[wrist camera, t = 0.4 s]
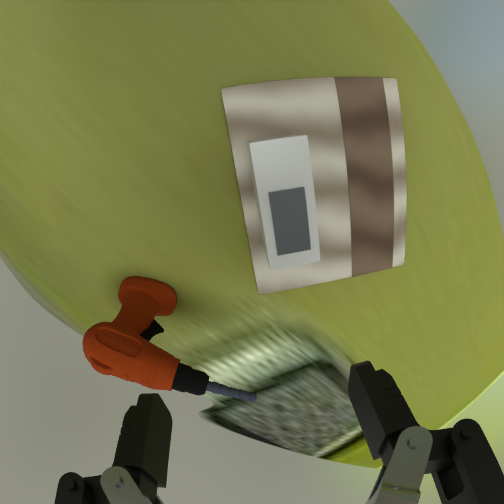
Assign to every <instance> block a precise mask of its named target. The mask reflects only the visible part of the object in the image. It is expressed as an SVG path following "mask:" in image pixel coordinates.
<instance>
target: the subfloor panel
mask: <svg viewBox="0 0 504 504" xmlns="http://www.w3.org/2000/svg"><path fill="white" fill-rule="evenodd" d="M221 92H222V97H223V103H224V108H225V114H226V119H227V125H228V130H229V136H230V141H231V147H232V152H233V158H234V163H235V168H236V174H237V179H238V185H239V190H240V196H241V201H242V207H243V212H244V217H245V223H246V228H247V234H248V239H249V245H250V250H251V255H252V261H253V266H254V272H255V277H256V283H257V288H258V293H259V295H263V294H268V293H274V292H279V291H284V290H289V289H294V288H299V287H304V286H309V285H314V284H319V283H324V282H329V281H333V280H338V279H342V278H347V277H354V276H359V275H363V274H368V273H372V272H376V271H381V270H385V269H389V268H392V267H395V266H399V265H403V264H404V255H405V238H406V165H405V148H404V136H403V126H402V116H401V108H400V101H399V94H398V88H397V82H396V79H393V78H379V77H320V78H302V79H289V80H278V81H269V82H261V83H253V84H246V85H239V86H233V87H227V88H222V89H221ZM293 134H296V135H307V137H308V144H309V151H310V159H311V167H312V175H313V184H314V193H315V202H316V212H317V223H318V235H319V247H320V261H318V262H313V263H308V264H303V265H298V266H293V267H287V268H282V269H277V270H271V271H270V268H269V265H268V261H267V258H266V254H265V251H264V247H263V241H262V235H261V228H260V222H259V216H258V211H257V205H256V199H255V193H254V187H253V181H252V175H251V169H250V164H249V158H248V152H247V146H246V141H251V140H257V139H263V138H270V137H277V136H285V135H293Z"/></svg>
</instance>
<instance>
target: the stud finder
mask: <svg viewBox="0 0 504 504" xmlns="http://www.w3.org/2000/svg"><path fill="white" fill-rule="evenodd" d="M246 146H247V152H248V158H249V164H250V169H251V175H252V181H253V187H254V193H255V199H256V205H257V211H258V216H259V222H260V228H261V235H262V241H263V247H264V251H265V254H266V258H267V261H268V265H269V268H270V271H271V270H277V269H282V268H287V267H293V266H298V265H303V264H308V263H313V262H318V261H320V247H319V235H318V223H317V212H316V202H315V193H314V184H313V175H312V167H311V159H310V151H309V144H308V137H307V135H296V134H293V135H285V136H277V137H270V138H263V139H257V140H251V141H246Z"/></svg>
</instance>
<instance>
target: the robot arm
mask: <svg viewBox="0 0 504 504" xmlns="http://www.w3.org/2000/svg"><path fill="white" fill-rule="evenodd" d="M348 393H349V397H350V400H351V403H352V405H353V408H354V410H355V413H356V416H357V418H358V421H359V423H360V426H361V428H362V431H363V434H364V436H365V439H366V441H367V444H368V447H369V449H370V452H371V455H372V457H373V460H375V459H378V458H382V461H383V466H382V469H381V471H380V474H379V476H378V479H377V481H376V483H375V485H374V487H373V490H372V492H371V494H370V496H369V498H368V500H367V502H366V504H418V502H419V499H420V491H419V488H420V485H421V482H422V478H423V475H424V474H428V473H431V474H432V477H433V479H434V482H435V485H436V488H437V491H438V494H439V497H440V499H441V503H442V504H504V475H503V472H502V470H501V468H500V466H499V463H498V461H497V459H496V457H495V455H494V453H493V451H492V449H491V447H490V445H489V443H488V441H487V439H486V437H485V435H484V433H483V431H482V429H481V427H480V425H479V424H478V423H477V422H476V421H474V420H472V419H462V420H460V421H458V422H457V423H456V424H455V425H454V427H453V428H447V429H440V430H428V429H426V428H424V427H421V426H420V425H419V424H418V423H417V421H416V420H415V418H414V416H413V414H412V412H411V410H410V408H409V407H408V405H407V403H406V401H405V399H404V397H403V395H401V392H400V390H399V388H398V387H397V385H396V383H395V381H394V379H393V377H392V376H391V375H390V374H388V373H387V372H386V371H385V370H383V369H381V370H377V371H375V369H374V367H373V366H372V364H371V362H370V361H364V362H361V363H357V364H353V365H351V368H350V376H349V384H348ZM122 425H123V427H122V428H121V435H120V436H119V440H118V444H117V449H116V453H115V458H114V462H113V465H112V467H110V468H108V469H106V470H105V471H104V472H103V474H102V475H99V476H93V477H84V478H82V477H81V476H80V475H78V474H76V473H73V472H69V473H66V474H64V475H63V476H62V477H61V478H60V480H59V483H58V488H57V493H56V498H55V504H164V503H163V502H162V500H161V499H160V497H159V496H158V495H157V487H165V488H166V481H167V469H168V459H169V449H170V441H171V432H172V417H171V414H170V412H169V410H168V409H167V407H166V405H165V404H164V402H163V400H162V399H161V397H160V396H159V394H157V393H153V394H140V395H139V398H138V402H137V406H131V407H130V408H129V410H128V411H127V412H126V414H125V416H124V420H123V424H122Z"/></svg>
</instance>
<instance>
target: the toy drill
mask: <svg viewBox="0 0 504 504" xmlns="http://www.w3.org/2000/svg"><path fill="white" fill-rule="evenodd" d="M118 297H119V301H120V302H121V304H122V307H121V310H120V312H119V314H118V315H117V317H116V318H115V319H114V320H113V322H100V323H98V324H95V325H93V326H92V327H91V328H89V329H88V330H87V332H86V333H85V335H84V337H83V351H84V354H85V357H86V358H87V360H88V361H89V362H90V363H91V365H92V367H93V368H94V369H95V370H96V371H98V372H99V373H102V374H105V375H113V376H116V377H119V378H122V379H124V380H127V381H131V382H136V383H139V384H141V385H143V386H145V387H148V388H151V389H158V390H168V391H171V390H172V389H174V390H177V391H180V392H188V393H191V394H195V395H203V394H205V392H206V390H207V391H210V392H212V393H215V394H222V395H225V396H232V397H234V398H238V399H240V398H241V399H242V400H246V401H251V402H253V401H255V400H256V399H257V396H256V394H255V393H251V392H249V393H248V392H247V391H244V390H238V389H235V388H232V387H228V386H225V385H223V384H219V383H217V382H214V381H213V382H211V381H209V376H208V375H207V374H206V373H205V372H202V371H199V370H195V369H192V367H191V366H188V365H185V364H182V363H180V359H177V358H175V357H174V356H173V355H171V354H169V353H168V352H166V351H164V350H163V349H161V348H159V347H157V346H155V345H154V344H152V343H150V342H149V341H150V340H151V338H152V337H153V336H155V335H156V334H158V333H163V332H164V329H163V328H162V327H161V326H160V325H159V324H158V323H157V322H156V321H155V320H154V317H155V316H167V315H171V314H172V313H173V311H174V309H175V306H176V302H177V299H176V294H175V291H174V290H173V289H172V288H171V287H170V286H168V285H167V284H165V283H162V282H160V281H156V280H153V279H149V278H144V277H135V276H134V277H128V278H126V279H125V280H124V281H123V282H122V284H121V286H120V288H119V292H118Z"/></svg>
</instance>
